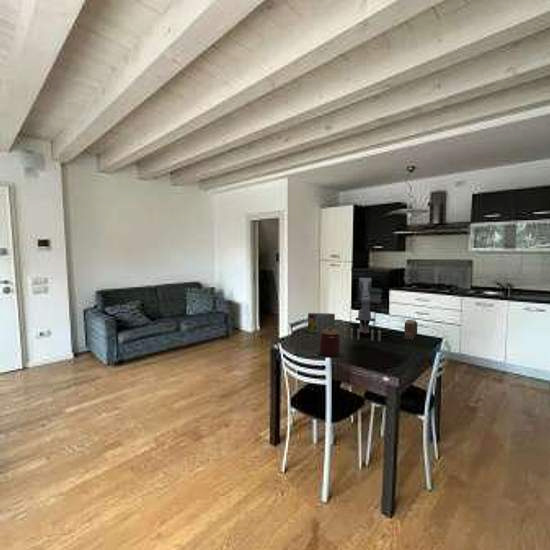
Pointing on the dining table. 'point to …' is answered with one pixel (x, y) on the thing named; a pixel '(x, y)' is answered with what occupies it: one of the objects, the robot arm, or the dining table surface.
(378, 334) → the domino
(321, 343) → the canister
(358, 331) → the domino
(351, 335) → the domino
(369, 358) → the dining table surface
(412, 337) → the stack of blocks
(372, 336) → the domino
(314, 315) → the snack box
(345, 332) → the domino
